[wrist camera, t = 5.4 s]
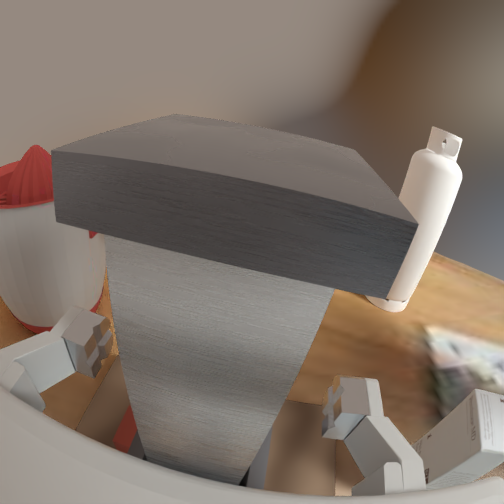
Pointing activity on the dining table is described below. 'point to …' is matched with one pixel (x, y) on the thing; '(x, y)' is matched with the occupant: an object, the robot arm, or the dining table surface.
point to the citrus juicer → (43, 249)
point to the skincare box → (464, 442)
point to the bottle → (425, 211)
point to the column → (224, 269)
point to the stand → (266, 460)
